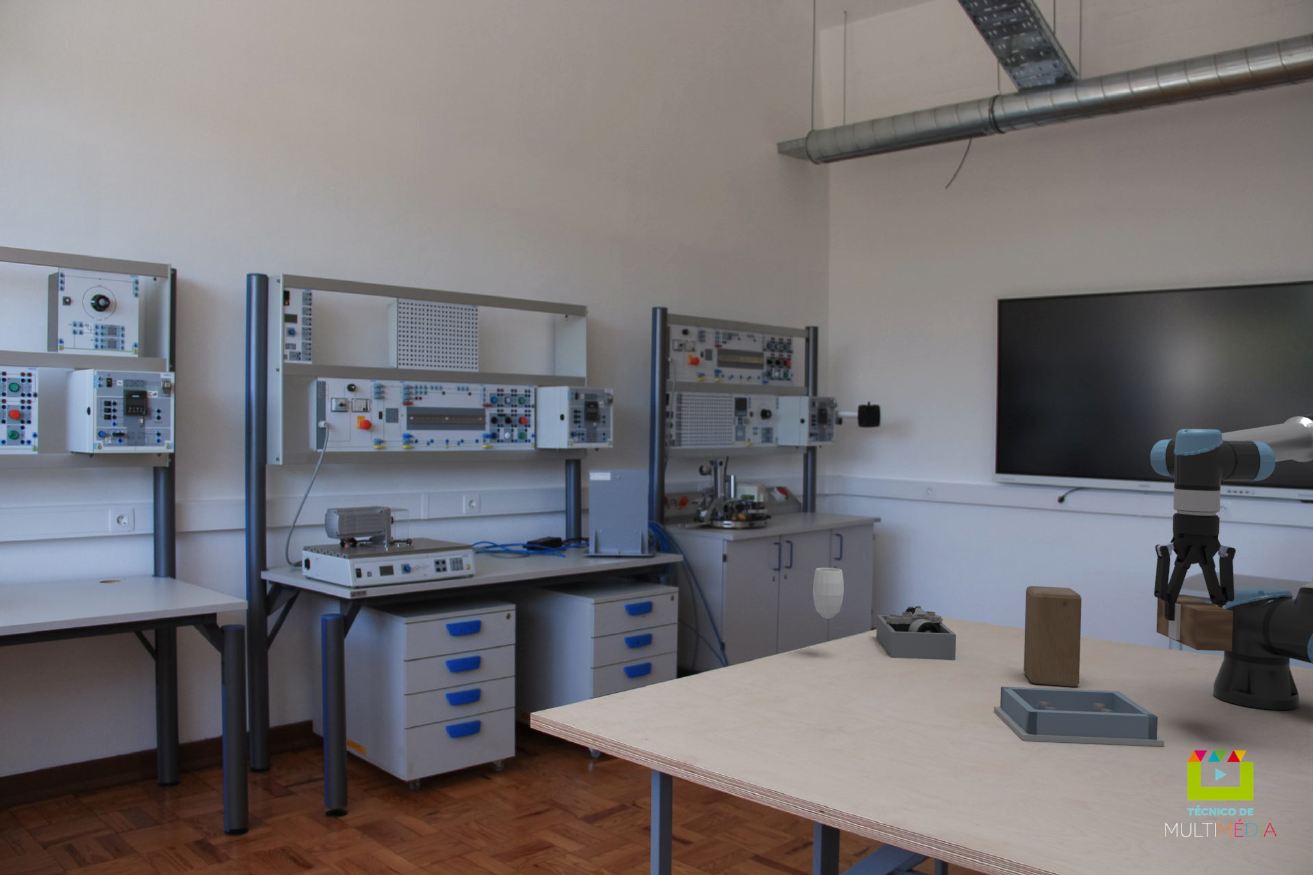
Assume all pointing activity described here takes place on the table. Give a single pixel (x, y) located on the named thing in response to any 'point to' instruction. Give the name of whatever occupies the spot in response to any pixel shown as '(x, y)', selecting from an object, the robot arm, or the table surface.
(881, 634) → the camera corral
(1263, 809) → the table surface
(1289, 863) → the table surface
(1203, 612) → the brown wooden bar
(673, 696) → the table surface
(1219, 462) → the robot arm
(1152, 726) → the peg frame
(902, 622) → the camera
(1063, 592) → the wooden block
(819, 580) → the cup
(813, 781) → the table surface
